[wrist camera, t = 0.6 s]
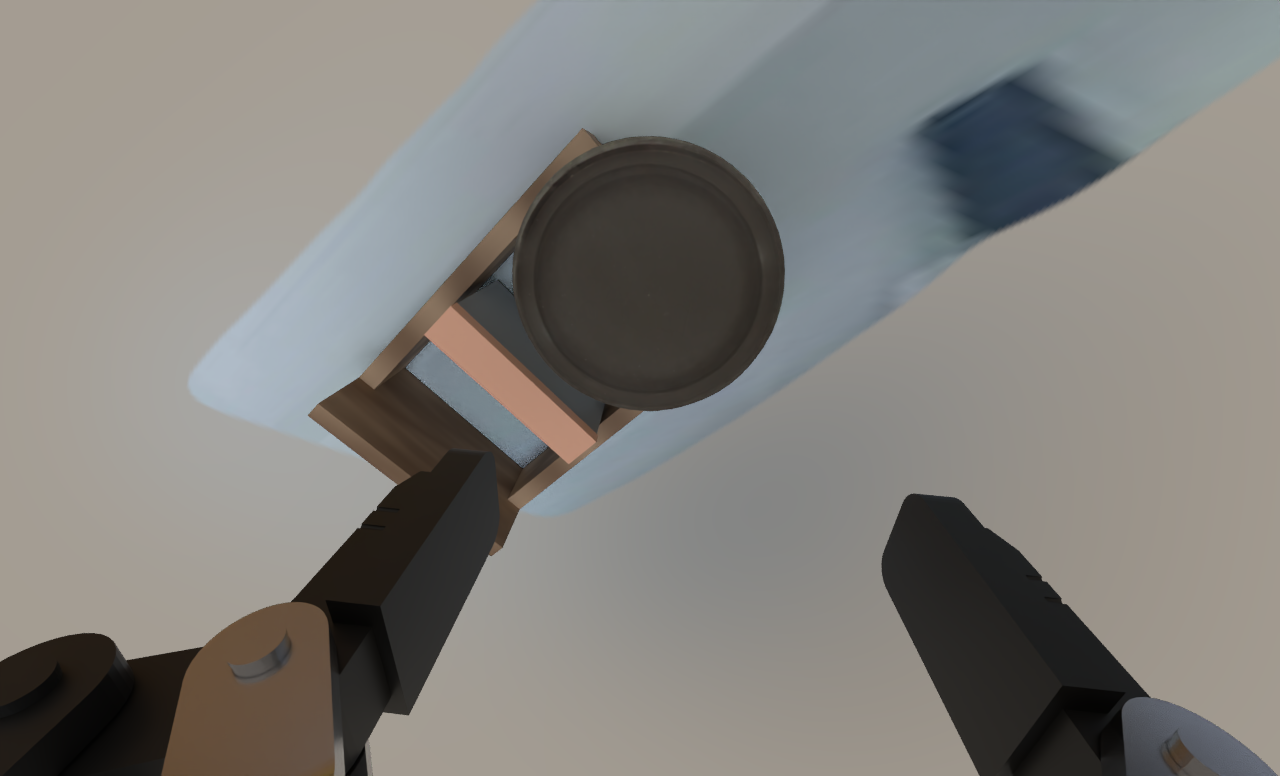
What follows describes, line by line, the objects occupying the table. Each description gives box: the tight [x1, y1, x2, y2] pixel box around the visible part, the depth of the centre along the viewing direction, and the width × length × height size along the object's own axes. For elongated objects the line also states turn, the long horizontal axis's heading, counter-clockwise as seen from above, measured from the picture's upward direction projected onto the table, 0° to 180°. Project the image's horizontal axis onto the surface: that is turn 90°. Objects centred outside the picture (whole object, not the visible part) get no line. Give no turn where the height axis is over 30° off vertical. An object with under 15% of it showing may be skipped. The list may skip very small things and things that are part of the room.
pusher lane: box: [308, 128, 643, 556], centre depth 30 cm, size 23×14×8 cm, turn 133°
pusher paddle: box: [424, 280, 605, 464], centre depth 30 cm, size 2×11×8 cm, turn 43°
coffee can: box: [512, 136, 785, 411], centre depth 24 cm, size 10×10×14 cm
